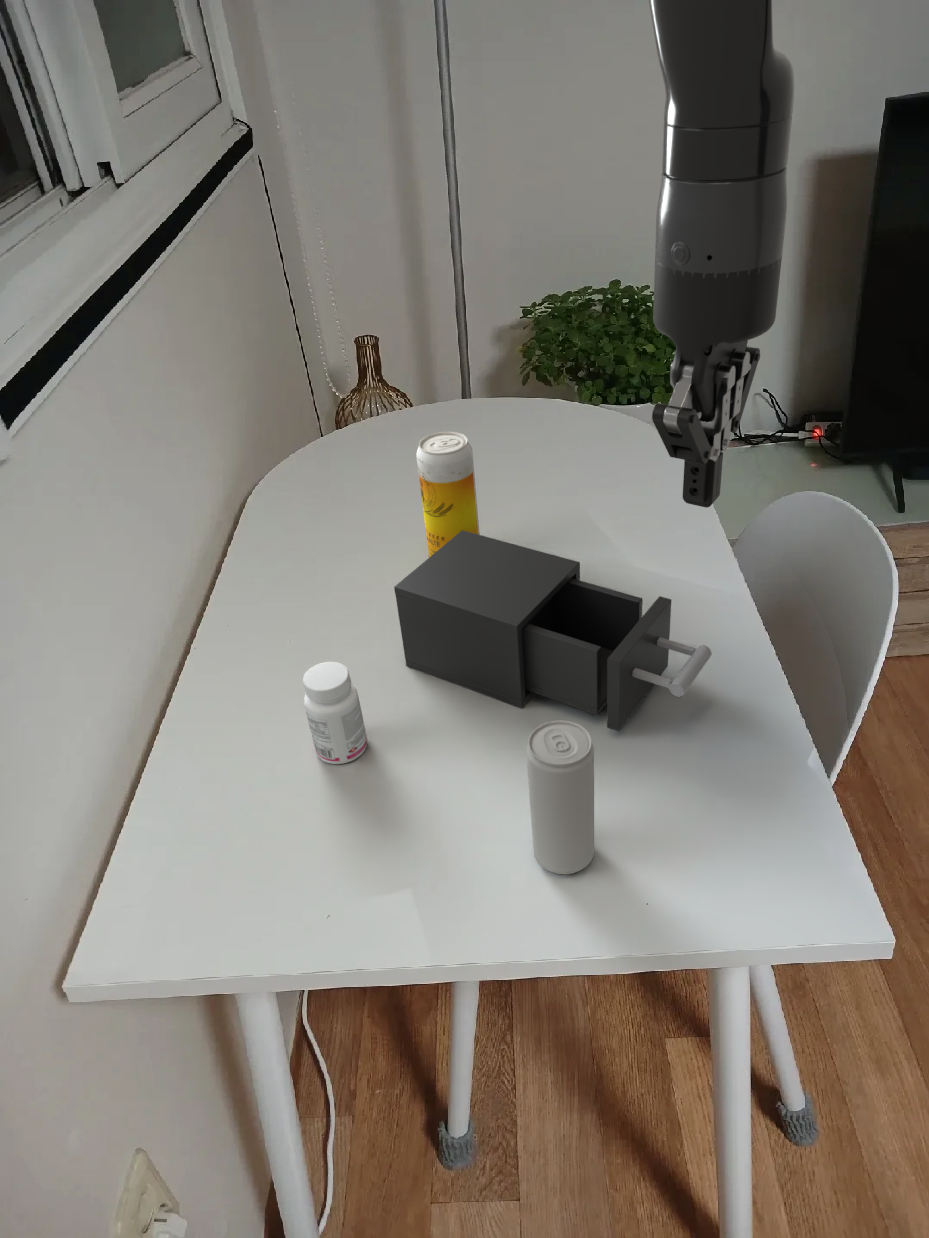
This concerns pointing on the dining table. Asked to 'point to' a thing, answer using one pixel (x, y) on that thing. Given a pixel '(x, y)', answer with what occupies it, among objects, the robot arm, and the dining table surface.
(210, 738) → the dining table surface
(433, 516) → the beer can
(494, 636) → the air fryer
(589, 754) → the beverage can
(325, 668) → the pill bottle
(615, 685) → the drawer
